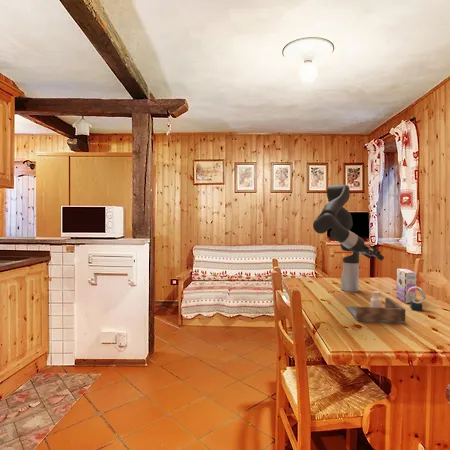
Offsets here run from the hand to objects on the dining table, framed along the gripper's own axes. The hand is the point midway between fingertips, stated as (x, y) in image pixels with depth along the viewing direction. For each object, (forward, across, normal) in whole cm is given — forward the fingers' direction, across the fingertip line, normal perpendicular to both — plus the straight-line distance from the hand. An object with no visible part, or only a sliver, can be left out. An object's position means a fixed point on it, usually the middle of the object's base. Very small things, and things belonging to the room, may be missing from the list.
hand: (376, 257), depth 153 cm
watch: (+32, -2, +11) cm, 34 cm away
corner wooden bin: (+9, -5, +25) cm, 27 cm away
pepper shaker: (+9, -5, +24) cm, 26 cm away
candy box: (+39, +13, +7) cm, 42 cm away
